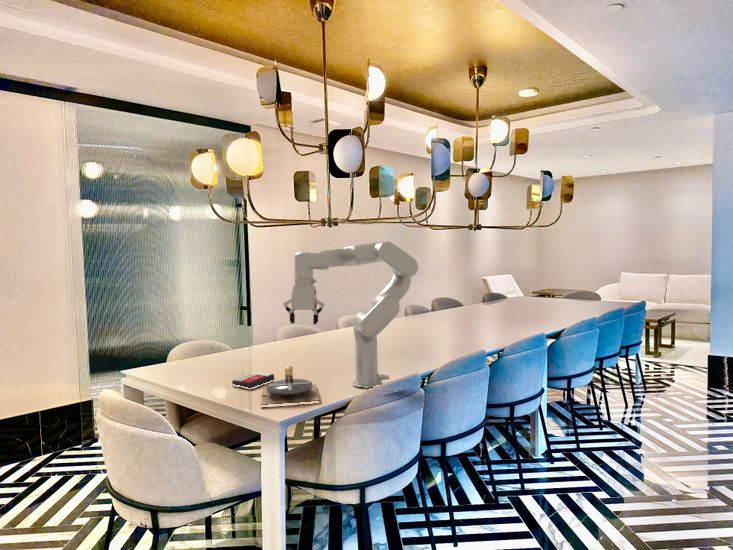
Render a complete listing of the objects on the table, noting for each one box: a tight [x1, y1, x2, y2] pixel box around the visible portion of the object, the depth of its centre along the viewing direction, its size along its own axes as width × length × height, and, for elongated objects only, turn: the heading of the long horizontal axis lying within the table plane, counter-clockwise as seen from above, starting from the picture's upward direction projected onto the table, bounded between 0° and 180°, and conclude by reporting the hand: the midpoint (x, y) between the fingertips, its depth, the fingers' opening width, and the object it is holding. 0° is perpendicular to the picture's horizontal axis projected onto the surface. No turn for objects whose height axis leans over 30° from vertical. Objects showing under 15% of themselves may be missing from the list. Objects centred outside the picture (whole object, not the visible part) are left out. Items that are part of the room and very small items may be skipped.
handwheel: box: [266, 366, 313, 396], centre depth 202 cm, size 18×18×9 cm
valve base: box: [260, 383, 321, 406], centre depth 202 cm, size 22×22×2 cm
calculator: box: [231, 370, 275, 388], centre depth 223 cm, size 11×4×15 cm
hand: (303, 323), depth 210 cm, fingers open, 9 cm apart
